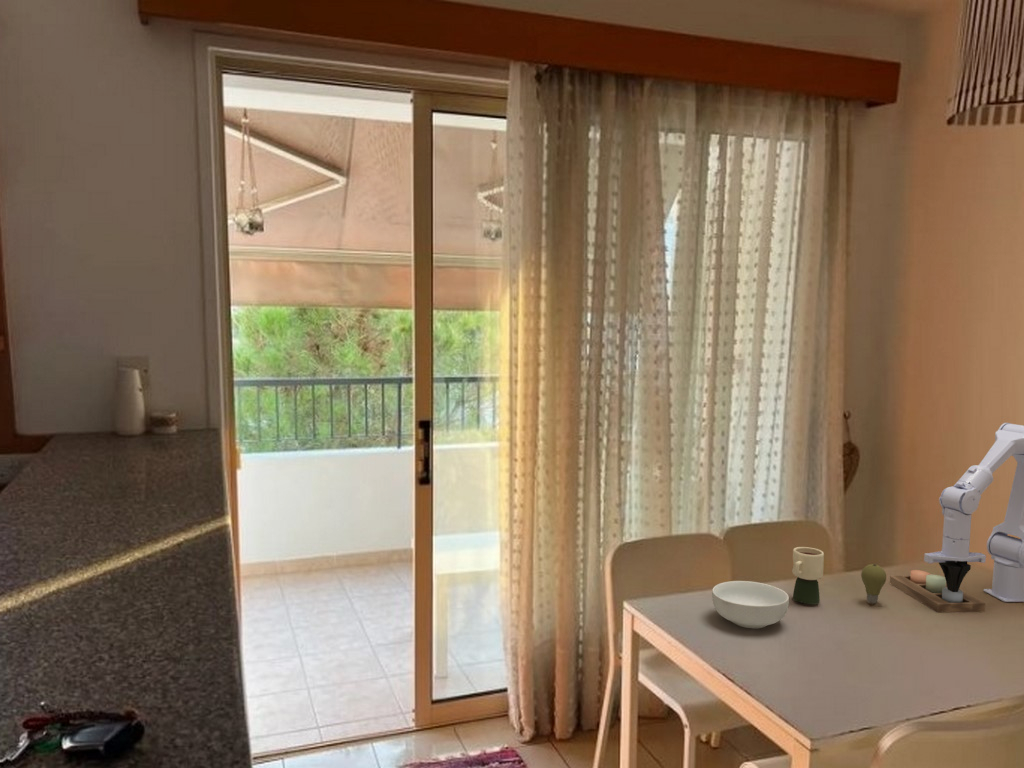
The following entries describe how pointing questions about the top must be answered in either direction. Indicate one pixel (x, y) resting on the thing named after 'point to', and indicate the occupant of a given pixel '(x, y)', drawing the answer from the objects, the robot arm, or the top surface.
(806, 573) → the character mug
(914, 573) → the orange rounded lump
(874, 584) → the light bulb
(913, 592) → the wooden compartment tray
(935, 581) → the sage button
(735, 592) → the cereal bowl
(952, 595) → the grey rounded piece
